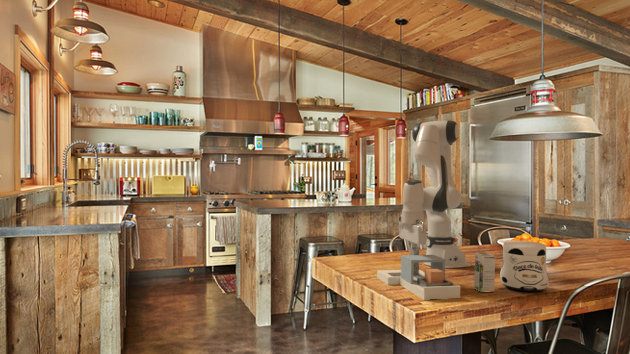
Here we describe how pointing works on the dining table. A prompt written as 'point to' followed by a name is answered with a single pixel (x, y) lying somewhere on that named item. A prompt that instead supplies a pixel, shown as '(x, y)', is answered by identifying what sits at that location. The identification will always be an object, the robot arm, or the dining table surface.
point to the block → (433, 276)
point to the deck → (418, 286)
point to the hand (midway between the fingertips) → (412, 252)
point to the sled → (421, 278)
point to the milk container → (524, 266)
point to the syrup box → (484, 272)
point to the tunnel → (409, 261)
